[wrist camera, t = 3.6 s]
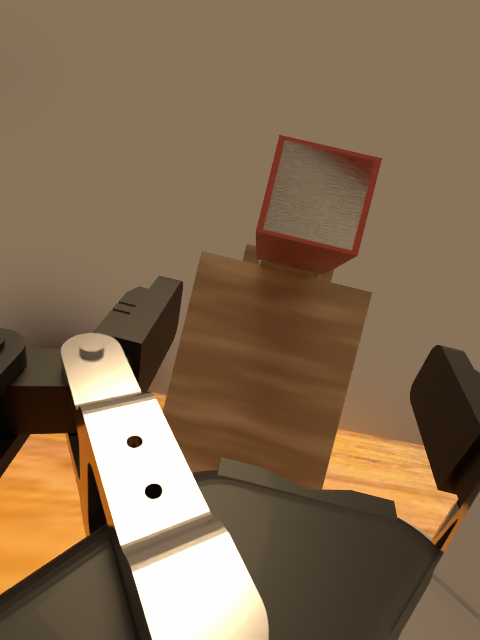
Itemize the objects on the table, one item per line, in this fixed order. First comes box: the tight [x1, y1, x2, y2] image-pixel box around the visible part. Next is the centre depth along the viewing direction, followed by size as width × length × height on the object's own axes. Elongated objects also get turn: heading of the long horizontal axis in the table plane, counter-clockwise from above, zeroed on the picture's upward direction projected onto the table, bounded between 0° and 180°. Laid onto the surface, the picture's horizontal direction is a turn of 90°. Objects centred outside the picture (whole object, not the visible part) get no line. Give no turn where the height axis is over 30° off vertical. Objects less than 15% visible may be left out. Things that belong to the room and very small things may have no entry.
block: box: [256, 135, 382, 277], centre depth 33 cm, size 36×4×9 cm, turn 177°
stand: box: [163, 244, 372, 490], centre depth 35 cm, size 16×14×33 cm
